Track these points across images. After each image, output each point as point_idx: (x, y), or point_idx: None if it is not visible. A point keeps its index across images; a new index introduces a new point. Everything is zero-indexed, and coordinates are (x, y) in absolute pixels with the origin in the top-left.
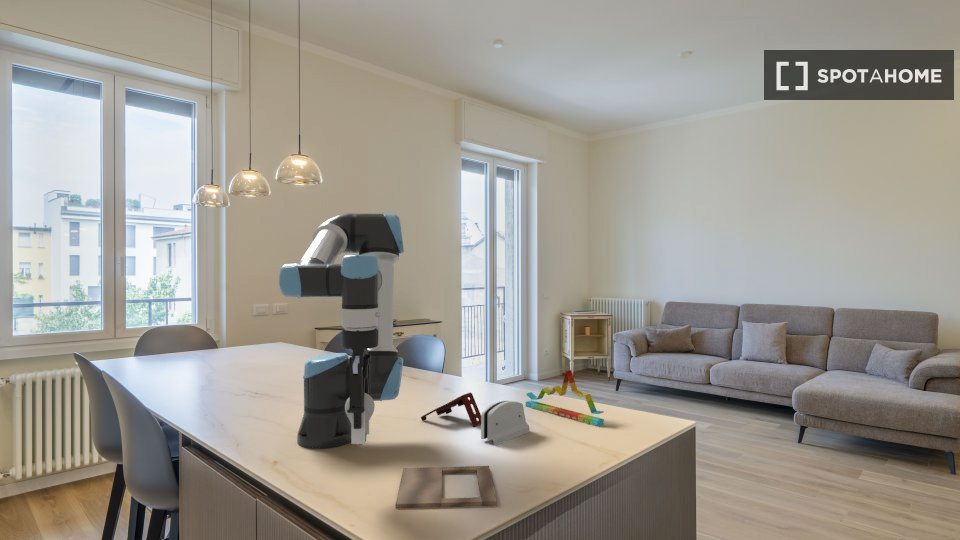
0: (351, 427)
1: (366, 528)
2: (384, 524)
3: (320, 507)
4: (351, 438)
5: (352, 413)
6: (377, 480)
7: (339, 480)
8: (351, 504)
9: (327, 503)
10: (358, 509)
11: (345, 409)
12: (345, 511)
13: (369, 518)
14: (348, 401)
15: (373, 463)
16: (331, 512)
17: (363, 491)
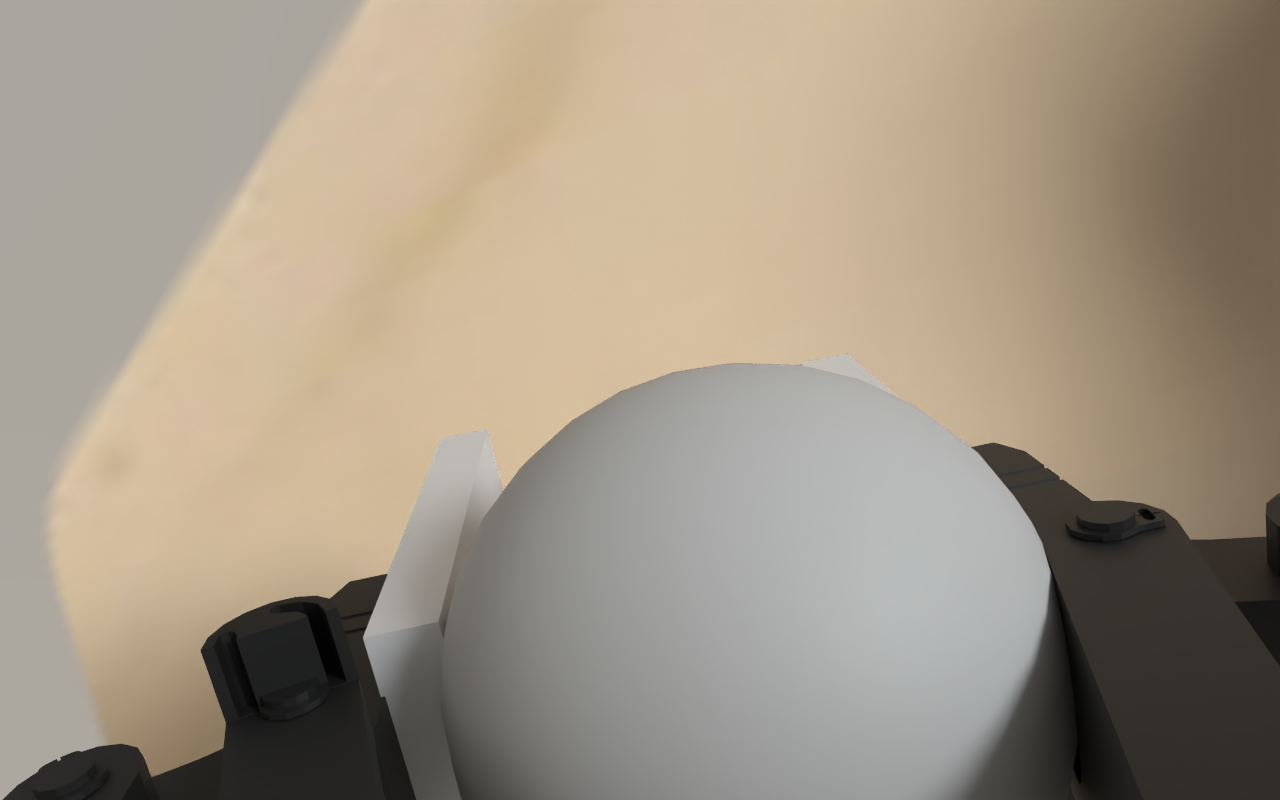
0: (411, 521)
1: (95, 570)
2: (178, 659)
3: (323, 115)
4: (431, 464)
5: (370, 650)
6: (876, 373)
7: (853, 52)
8: (420, 335)
9: (402, 141)
10: (351, 417)
11: (557, 437)
12: (300, 336)
13: (235, 539)
14: (559, 577)
15: (1239, 212)
16: (261, 239)
17: (658, 339)
